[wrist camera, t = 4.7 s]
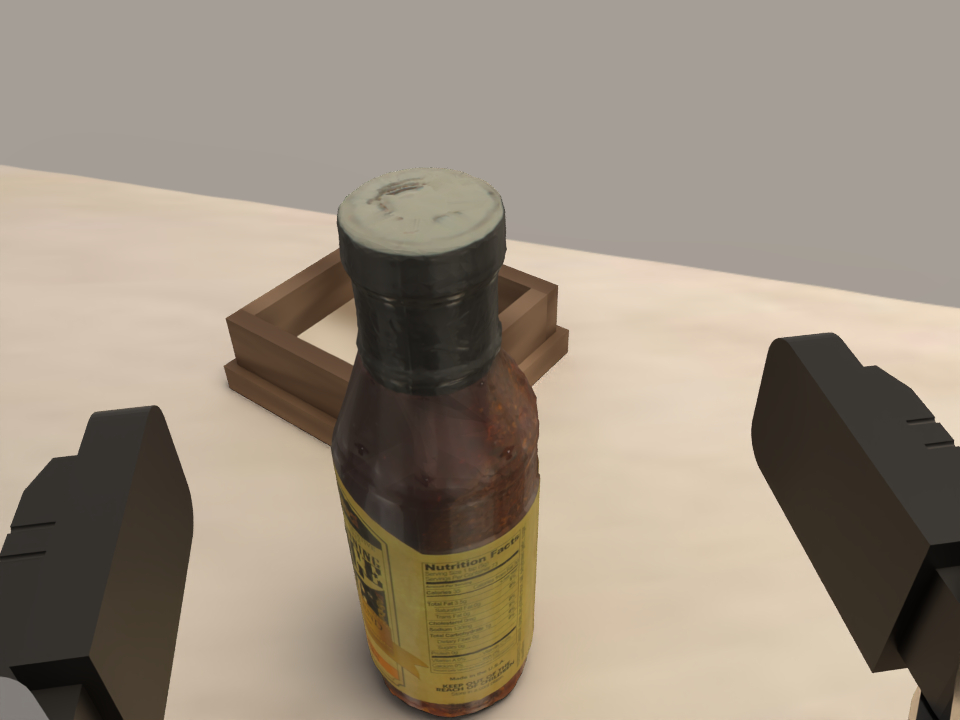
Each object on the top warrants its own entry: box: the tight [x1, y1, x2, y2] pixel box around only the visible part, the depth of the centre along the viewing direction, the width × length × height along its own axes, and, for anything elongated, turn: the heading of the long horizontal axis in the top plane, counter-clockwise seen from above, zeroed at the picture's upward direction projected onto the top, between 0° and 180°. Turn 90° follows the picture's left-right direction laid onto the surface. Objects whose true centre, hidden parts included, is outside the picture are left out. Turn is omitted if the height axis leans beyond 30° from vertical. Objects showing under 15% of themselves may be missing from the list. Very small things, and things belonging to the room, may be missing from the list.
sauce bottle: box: [331, 168, 540, 717], centre depth 27 cm, size 7×6×20 cm
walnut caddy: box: [224, 248, 569, 446], centre depth 45 cm, size 13×13×4 cm
